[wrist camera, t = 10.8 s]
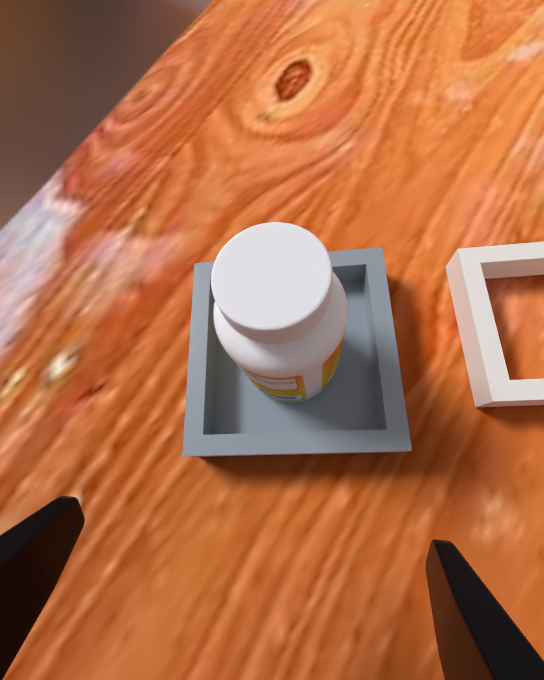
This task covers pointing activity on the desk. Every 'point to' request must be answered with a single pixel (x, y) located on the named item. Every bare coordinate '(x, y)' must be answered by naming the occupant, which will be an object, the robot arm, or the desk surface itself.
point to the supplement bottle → (280, 309)
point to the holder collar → (491, 320)
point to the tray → (312, 414)
